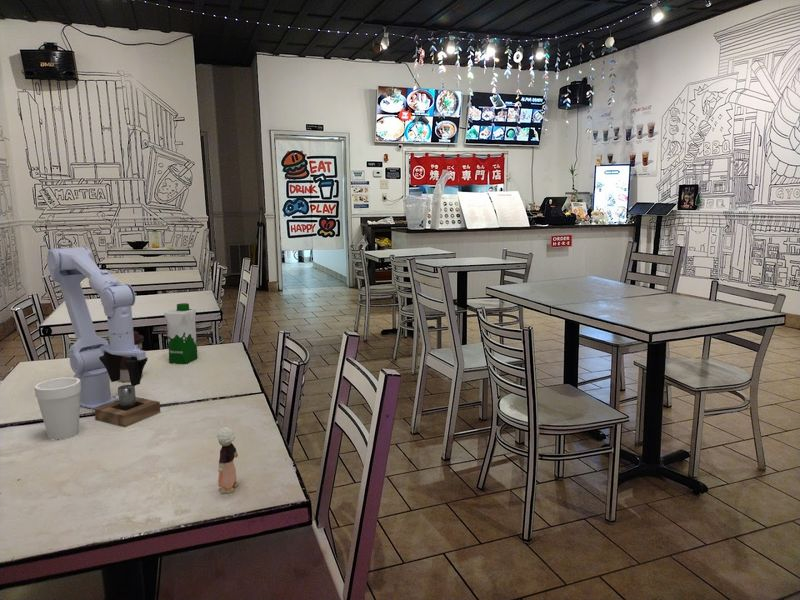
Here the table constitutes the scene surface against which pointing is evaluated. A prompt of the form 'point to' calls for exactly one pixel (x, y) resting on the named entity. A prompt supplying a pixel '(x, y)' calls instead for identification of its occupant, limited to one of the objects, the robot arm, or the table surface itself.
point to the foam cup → (60, 406)
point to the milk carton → (181, 334)
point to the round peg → (127, 397)
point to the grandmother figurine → (227, 461)
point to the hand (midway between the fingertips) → (125, 382)
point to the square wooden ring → (127, 412)
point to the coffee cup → (123, 369)
